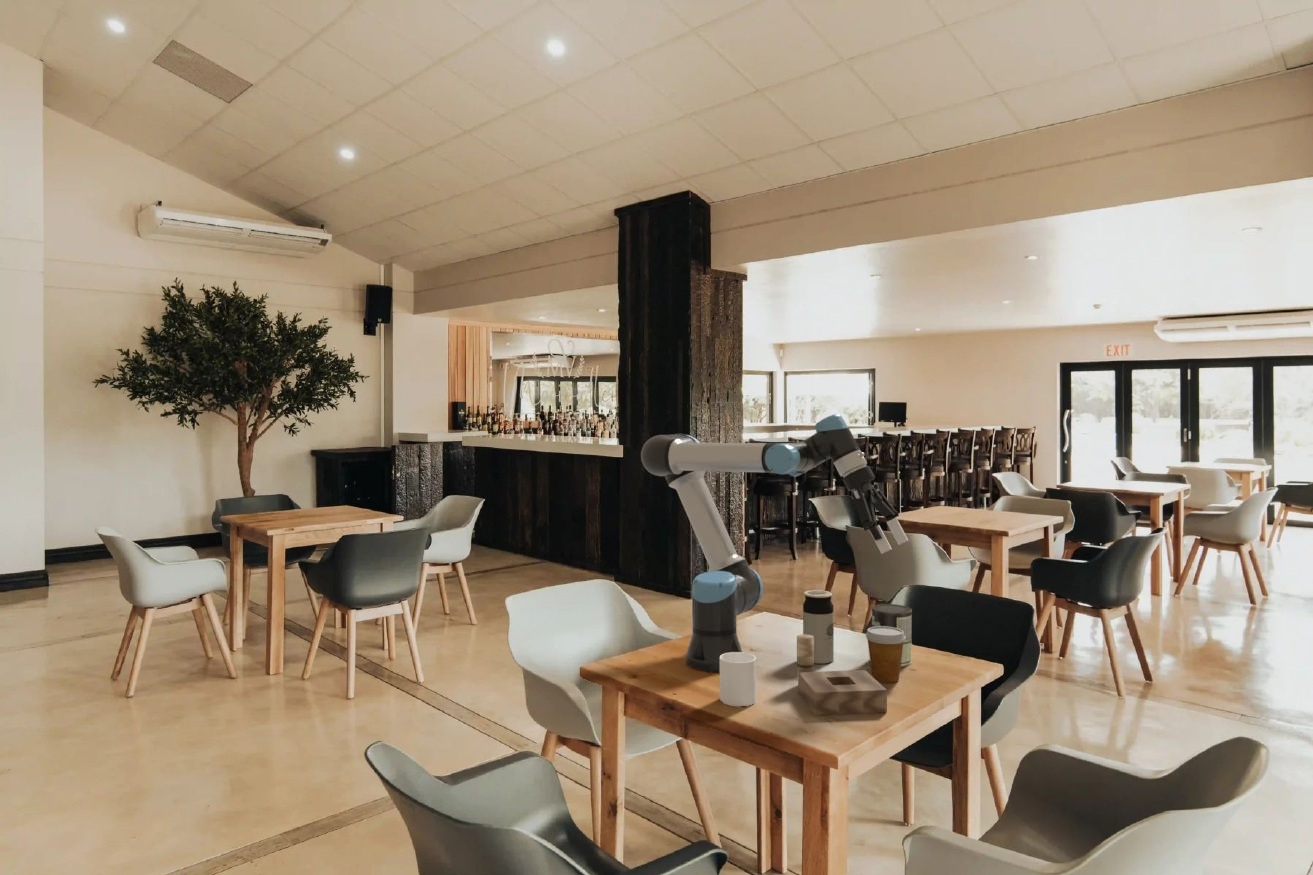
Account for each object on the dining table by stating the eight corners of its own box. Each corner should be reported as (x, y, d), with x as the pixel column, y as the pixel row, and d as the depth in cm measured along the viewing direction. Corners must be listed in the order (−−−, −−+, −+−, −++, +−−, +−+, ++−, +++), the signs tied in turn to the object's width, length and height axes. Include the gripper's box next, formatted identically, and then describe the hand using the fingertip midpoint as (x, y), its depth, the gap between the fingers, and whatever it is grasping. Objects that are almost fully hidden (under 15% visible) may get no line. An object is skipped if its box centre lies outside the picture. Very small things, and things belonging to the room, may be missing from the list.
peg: (799, 689, 190) (799, 639, 190) (794, 683, 194) (794, 634, 194) (816, 688, 190) (815, 638, 190) (811, 682, 194) (811, 633, 194)
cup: (713, 703, 181) (713, 659, 180) (735, 688, 191) (735, 646, 191) (747, 710, 176) (747, 664, 176) (767, 693, 187) (767, 650, 187)
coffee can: (876, 666, 206) (876, 612, 206) (867, 655, 217) (867, 603, 216) (917, 667, 206) (916, 612, 206) (905, 655, 216) (905, 603, 216)
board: (815, 715, 173) (815, 692, 173) (798, 693, 187) (798, 672, 187) (886, 712, 174) (886, 689, 174) (865, 690, 188) (864, 669, 188)
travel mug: (797, 659, 214) (796, 592, 213) (817, 653, 218) (816, 588, 218) (819, 666, 207) (819, 597, 207) (839, 660, 212) (839, 593, 212)
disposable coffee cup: (904, 674, 200) (903, 626, 200) (907, 686, 191) (907, 636, 191) (865, 671, 202) (864, 624, 202) (866, 683, 193) (866, 634, 193)
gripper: (850, 468, 191) (892, 549, 186) (883, 461, 212) (922, 533, 207) (824, 482, 195) (865, 561, 190) (859, 473, 216) (897, 545, 211)
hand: (895, 547), depth 198 cm, fingers open, 13 cm apart
